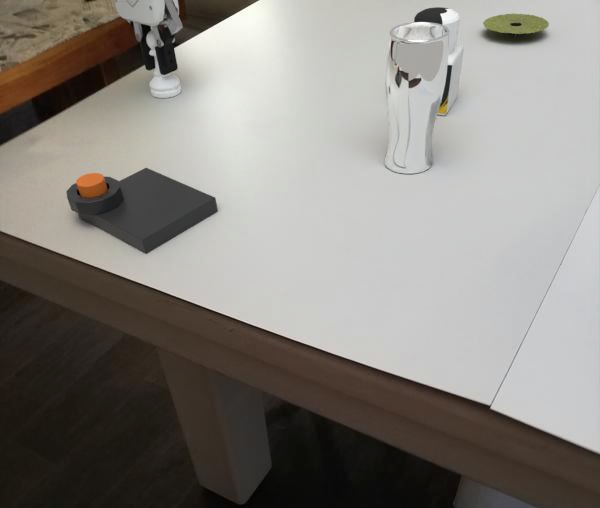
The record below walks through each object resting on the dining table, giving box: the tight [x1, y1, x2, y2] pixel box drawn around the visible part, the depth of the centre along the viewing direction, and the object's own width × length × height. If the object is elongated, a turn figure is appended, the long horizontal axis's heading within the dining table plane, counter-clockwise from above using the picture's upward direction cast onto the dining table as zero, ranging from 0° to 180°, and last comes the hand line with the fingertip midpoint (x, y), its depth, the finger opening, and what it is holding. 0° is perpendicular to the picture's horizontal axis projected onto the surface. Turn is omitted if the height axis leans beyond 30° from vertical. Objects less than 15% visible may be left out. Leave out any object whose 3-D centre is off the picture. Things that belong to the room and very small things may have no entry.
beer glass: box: [384, 21, 450, 175], centre depth 70 cm, size 7×7×15 cm
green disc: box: [482, 13, 550, 35], centre depth 105 cm, size 11×11×2 cm
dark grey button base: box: [66, 167, 219, 255], centre depth 69 cm, size 14×12×4 cm
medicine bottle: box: [413, 6, 465, 116], centre depth 83 cm, size 7×7×12 cm
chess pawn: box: [146, 30, 182, 99], centre depth 93 cm, size 5×5×9 cm
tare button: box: [75, 172, 108, 197], centre depth 68 cm, size 3×3×2 cm
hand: (161, 68), depth 94 cm, fingers closed on chess pawn, 3 cm apart
